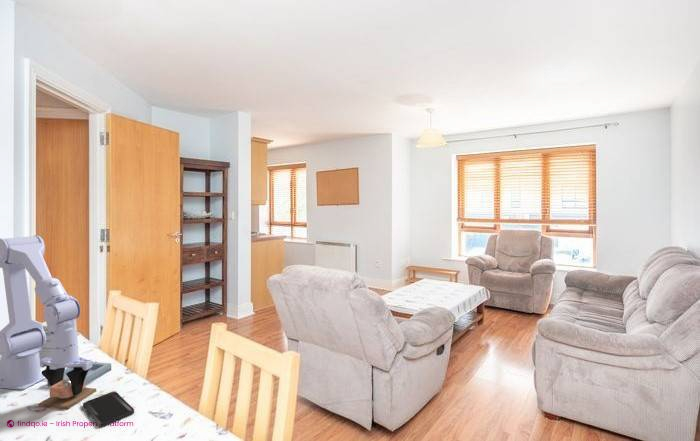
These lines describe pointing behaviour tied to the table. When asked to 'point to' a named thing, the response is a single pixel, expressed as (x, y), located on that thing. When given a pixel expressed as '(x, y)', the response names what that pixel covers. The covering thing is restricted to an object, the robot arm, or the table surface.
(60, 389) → the ring
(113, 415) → the phone
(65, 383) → the grey stepped cylinder
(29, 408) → the table surface
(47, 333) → the supplement box
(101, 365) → the tray
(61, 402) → the base
